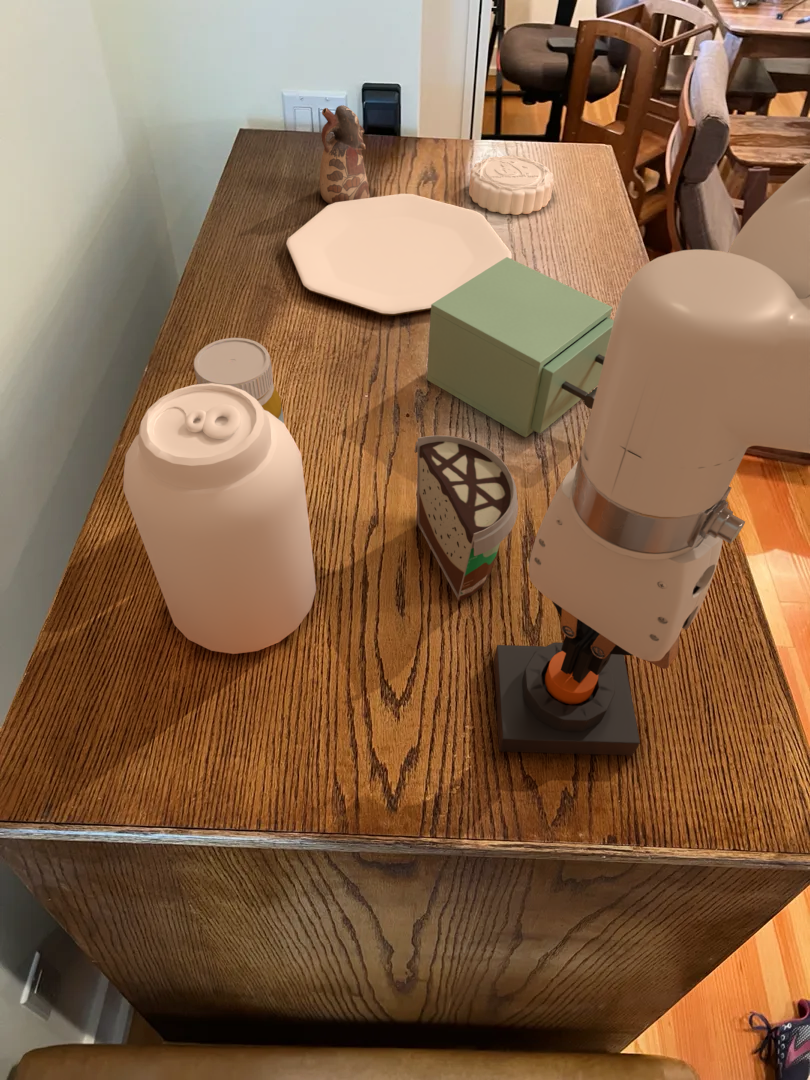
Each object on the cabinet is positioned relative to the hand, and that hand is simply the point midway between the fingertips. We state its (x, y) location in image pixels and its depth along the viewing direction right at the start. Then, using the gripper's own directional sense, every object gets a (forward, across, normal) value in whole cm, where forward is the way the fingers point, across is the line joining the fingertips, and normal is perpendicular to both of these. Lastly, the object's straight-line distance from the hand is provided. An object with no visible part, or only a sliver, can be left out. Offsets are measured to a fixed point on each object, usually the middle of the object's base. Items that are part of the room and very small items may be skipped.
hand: (581, 663), depth 55 cm
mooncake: (+7, +53, -63) cm, 83 cm away
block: (+6, 0, 0) cm, 6 cm away
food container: (+6, +15, -7) cm, 18 cm away
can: (+6, +26, +10) cm, 29 cm away
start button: (+3, 0, 0) cm, 3 cm away
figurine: (+6, +70, -46) cm, 84 cm away
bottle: (+6, +35, +1) cm, 36 cm away
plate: (+6, +53, -39) cm, 66 cm away
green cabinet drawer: (+6, +23, -29) cm, 37 cm away
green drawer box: (+6, +27, -29) cm, 40 cm away
